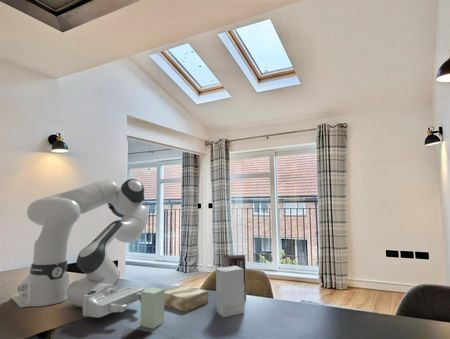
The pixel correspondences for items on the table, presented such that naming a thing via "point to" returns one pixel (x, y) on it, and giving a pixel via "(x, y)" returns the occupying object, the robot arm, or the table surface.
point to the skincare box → (230, 291)
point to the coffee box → (236, 261)
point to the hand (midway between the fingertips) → (135, 303)
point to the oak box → (185, 297)
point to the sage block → (152, 307)
